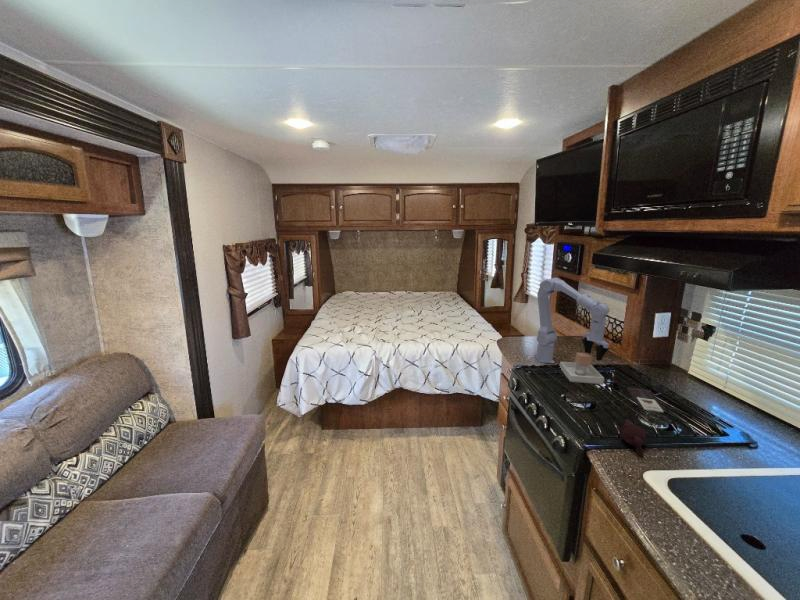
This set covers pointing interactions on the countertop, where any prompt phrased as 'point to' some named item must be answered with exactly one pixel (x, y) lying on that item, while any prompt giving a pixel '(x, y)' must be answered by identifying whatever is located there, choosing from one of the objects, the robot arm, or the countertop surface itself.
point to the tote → (590, 376)
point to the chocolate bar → (646, 400)
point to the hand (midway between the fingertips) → (593, 356)
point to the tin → (580, 370)
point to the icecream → (633, 435)
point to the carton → (583, 359)
